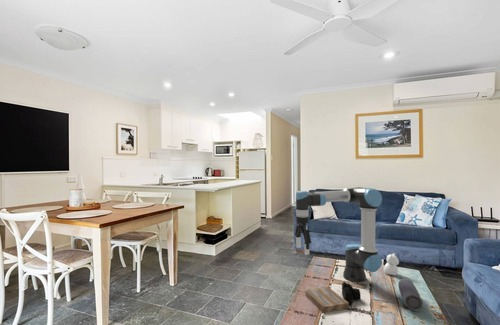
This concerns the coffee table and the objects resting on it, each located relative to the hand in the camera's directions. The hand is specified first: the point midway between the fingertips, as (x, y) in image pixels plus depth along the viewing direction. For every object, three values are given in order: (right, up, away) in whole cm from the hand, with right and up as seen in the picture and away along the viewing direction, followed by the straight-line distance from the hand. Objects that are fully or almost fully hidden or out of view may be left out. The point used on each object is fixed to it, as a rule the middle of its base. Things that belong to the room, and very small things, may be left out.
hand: (302, 251), depth 156 cm
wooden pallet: (+12, -27, -8) cm, 30 cm away
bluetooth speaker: (+60, -27, -9) cm, 66 cm away
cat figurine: (+71, -28, +32) cm, 83 cm away
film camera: (+28, -27, -6) cm, 39 cm away
